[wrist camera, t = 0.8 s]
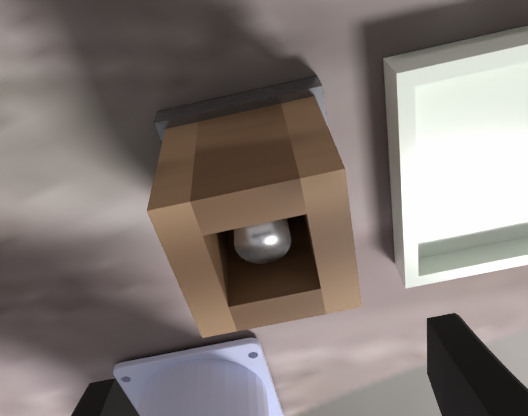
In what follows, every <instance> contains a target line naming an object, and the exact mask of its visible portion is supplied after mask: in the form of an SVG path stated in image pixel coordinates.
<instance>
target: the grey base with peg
mask: <svg viewBox="0 0 528 416" xmlns="http://www.w3.org/2000/svg"><path fill="white" fill-rule="evenodd" d="M312 96H315V98H316V100H317V102H318V105H319V107H320V110H321V112H322V114H323V117H324V119H325V122H326V124H327V117H326V110H325V103H324V96H323V88H322V84H321V82H320V80H319V78H318V76H314V77H310V78H305V79H301V80H296V81H292V82H287V83H283V84H279V85H274V86H270V87H265V88H261V89H256V90H252V91H248V92H243V93H239V94H234V95H230V96H225V97H221V98H216V99H212V100H208V101H203V102H199V103H194V104H190V105H185V106H181V107H177V108H172V109H168V110H163V111H159V112H157V115H156V119H155V123H154V124H155V127H156V129H157V132H158V135H159V137H160V140H161V143H162V141H163V137H164V132H165V129H168V128H173V127H177V126H182V125H186V124H191V123H195V122H200V121H204V120H209V119H213V118H218V117H222V116H227V115H231V114H236V113H240V112H245V111H249V110H254V109H258V108H263V107H267V106H272V105H276V104H280V103H285V102H289V101H294V100H298V99H303V98H307V97H312ZM327 127H328V124H327ZM290 245H291V236H290V231H289V225H288V220H287V218H285V219H281V220H276V221H271V222H266V223H261V224H256V225H252V226H247V227H242V228H237V229H234V246H235V250H236V252H237V253H238V254H239V256H240V257H242V258H243V259H244V260H246V261H249V262H251V263H256V264H266V263H271V262H274V261H276V260H278V259H280V258H281V257H283V256H284V255H285V254H286V253H287V251H288V250H289V248H290Z"/></svg>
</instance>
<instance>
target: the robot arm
mask: <svg viewBox="0 0 528 416" xmlns="http://www.w3.org/2000/svg"><path fill="white" fill-rule="evenodd" d="M427 374H428V376H429V380H430V382H431V386H432V389H433V391H434V394H435V397H436V400H437V403H438V406H439V409H440V411H441V414H442V416H528V389H527V388H526V387H525V386H524V385H523V384H522V383H521V382H520V381H519V380H518V379H517V378H516V377H515V376H514V375H513V374H512V373H511V372H510V371H509V370H508V369H507V368H506V367H505V366H504V365H503V364H502V363H501V362H500V361H499V359H498V358H497V357H496V356H495V355H494V354H493V353H492V352H491V351H490V350H489V349H488V348H487V347H486V346H485V345H484V343H483V342H482V341H481V340H480V339H479V338H478V337H477V336H476V335H475V333H474V332H473V331H472V330H471V329H470V328H469V327H468V325H467V324H466V323H465V322H464V321H463V319H462V318H461V317H460V316H459V315H457V314H455V313H452V314H447V315H442V316H437V317H431V318H427ZM113 375H114V376H115V378H116V379H117V380H116V379H115V378H114V379H109V380H104V381H99V382H94V383H90V384H89V386H88V387H87V389H86V390H85V392H84V394H83V396H82V397H81V399H80V401H79V403H78V404H77V406H76V408H75V410H74V412H73V413H72V415H71V416H284V414H283V411H282V408H281V405H280V402H279V399H278V396H277V393H276V390H275V387H274V384H273V380H272V377H271V374H270V371H269V368H268V365H267V362H266V359H265V356H264V353H263V350H262V347H261V344H260V342H259V340H258V339H256V338H245V339H240V340H235V341H230V342H224V343H219V344H214V345H209V346H204V347H199V348H193V349H188V350H183V351H178V352H173V353H168V354H162V355H157V356H152V357H147V358H142V359H137V360H131V361H126V362H121V363H118V364H116V365H115V366H114V370H113ZM117 381H118V382H119V383H118V382H117ZM119 384H120V385H119ZM121 387H122V388H121ZM123 390H124V391H123ZM125 393H126V394H125ZM126 395H127V396H128V397H127V396H126ZM128 398H129V399H130V400H129V399H128ZM130 401H131V402H132V403H131V402H130ZM132 404H133V405H134V406H133V405H132ZM134 407H135V408H136V409H135V408H134ZM136 410H137V411H136Z"/></svg>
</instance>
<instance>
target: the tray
mask: <svg viewBox="0 0 528 416" xmlns="http://www.w3.org/2000/svg"><path fill="white" fill-rule="evenodd" d="M383 64H384V82H385V99H386V116H387V133H388V150H389V168H390V185H391V202H392V219H393V237H394V254H395V265H396V268H397V270H398V272H399V275H400V277H401V279H402V281H403V284H404V286H405V288H410V287H415V286H420V285H425V284H430V283H435V282H441V281H446V280H451V279H456V278H461V277H466V276H471V275H476V274H481V273H486V272H492V271H497V270H502V269H507V268H512V267H517V266H522V265H527V264H528V26H523V27H519V28H515V29H510V30H506V31H501V32H497V33H492V34H488V35H484V36H479V37H475V38H470V39H466V40H461V41H457V42H453V43H448V44H444V45H439V46H435V47H430V48H426V49H422V50H417V51H413V52H408V53H404V54H399V55H395V56H391V57H386V58H383Z"/></svg>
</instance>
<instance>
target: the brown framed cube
mask: <svg viewBox="0 0 528 416" xmlns="http://www.w3.org/2000/svg"><path fill="white" fill-rule="evenodd" d="M147 212H148V215H149V217H150V219H151V222H152V224H153V226H154V229H155V231H156V233H157V235H158V238H159V240H160V242H161V245H162V247H163V249H164V251H165V254H166V256H167V258H168V261H169V263H170V265H171V267H172V270H173V272H174V274H175V277H176V279H177V281H178V283H179V286H180V288H181V290H182V293H183V295H184V297H185V300H186V302H187V304H188V306H189V309H190V311H191V313H192V316H193V318H194V320H195V322H196V325H197V327H198V329H199V332H200V334H201V336H202V338H205V337H211V336H216V335H221V334H226V333H231V332H236V331H241V330H246V329H252V328H257V327H262V326H267V325H272V324H277V323H282V322H288V321H293V320H298V319H303V318H308V317H313V316H318V315H324V314H329V313H334V312H339V311H344V310H349V309H354V308H359V307H362V303H361V295H360V287H359V279H358V271H357V263H356V255H355V246H354V238H353V230H352V222H351V214H350V206H349V197H348V189H347V181H346V173H345V168H344V165H343V163H342V160H341V158H340V156H339V153H338V151H337V148H336V146H335V143H334V141H333V139H332V136H331V134H330V131H329V129H328V127H327V124H326V122H325V119H324V117H323V114H322V112H321V110H320V107H319V105H318V102H317V100H316V98H315V96H312V97H307V98H303V99H298V100H294V101H289V102H285V103H280V104H276V105H272V106H267V107H263V108H258V109H254V110H249V111H245V112H240V113H236V114H231V115H227V116H222V117H218V118H213V119H209V120H204V121H200V122H195V123H191V124H186V125H182V126H177V127H173V128H168V129H165V132H164V137H163V141H162V146H161V150H160V155H159V159H158V164H157V168H156V172H155V177H154V181H153V186H152V190H151V195H150V199H149V203H148V208H147ZM285 218H287V220H288V225H289V231H290V236H291V245H290V248H289V250H288V251H287V253H286V254H285V255H284V256H283V257H281V258H280V259H278V260H276V261H274V262H271V263H266V264H256V263H251V262H249V261H246V260H244V259H243V258H242V257H240V256H239V254H238V253H237V252H236V250H235V246H234V229H237V228H242V227H247V226H252V225H256V224H261V223H266V222H271V221H276V220H281V219H285Z"/></svg>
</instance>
